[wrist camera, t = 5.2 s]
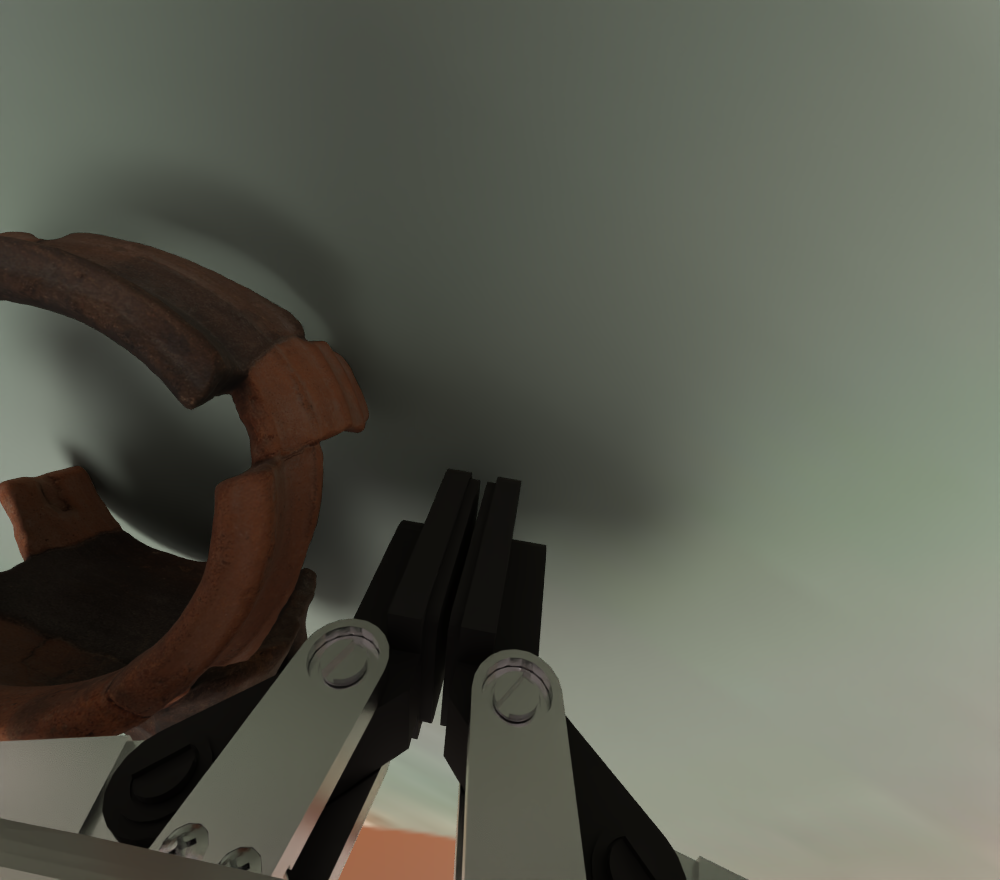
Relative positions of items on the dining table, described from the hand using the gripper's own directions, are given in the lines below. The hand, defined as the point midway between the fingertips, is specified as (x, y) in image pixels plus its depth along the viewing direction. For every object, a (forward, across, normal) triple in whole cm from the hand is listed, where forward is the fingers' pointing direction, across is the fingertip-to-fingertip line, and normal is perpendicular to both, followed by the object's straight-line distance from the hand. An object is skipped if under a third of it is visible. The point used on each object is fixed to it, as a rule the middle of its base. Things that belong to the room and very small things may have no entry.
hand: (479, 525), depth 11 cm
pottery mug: (+1, +7, 0) cm, 7 cm away
